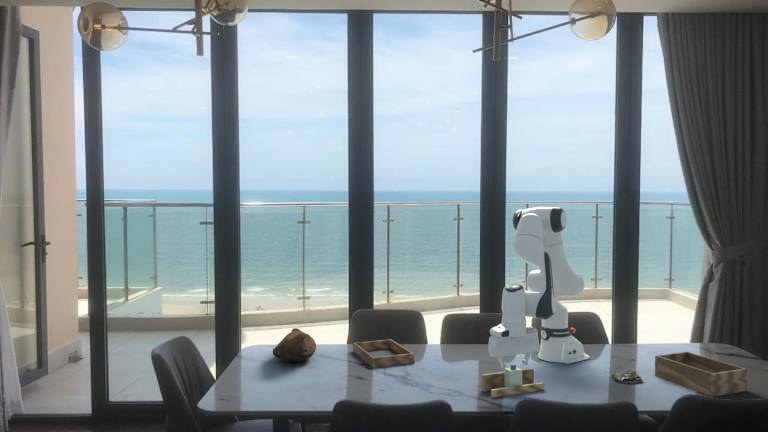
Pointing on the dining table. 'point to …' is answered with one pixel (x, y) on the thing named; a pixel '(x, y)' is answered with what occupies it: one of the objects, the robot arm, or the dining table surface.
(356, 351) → the rectangular wooden frame
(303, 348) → the brown rough lump
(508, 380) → the cabinet block
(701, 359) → the open wooden box
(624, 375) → the mottled grey lump
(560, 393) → the dining table surface
